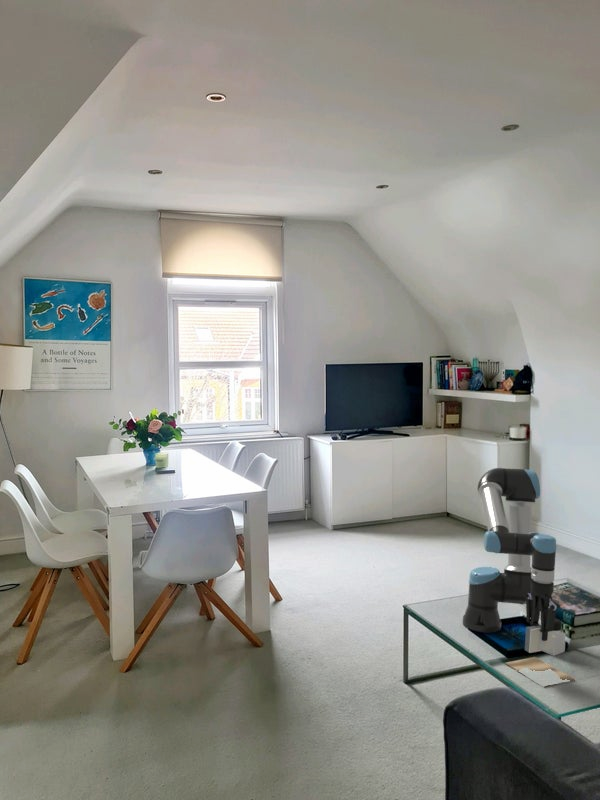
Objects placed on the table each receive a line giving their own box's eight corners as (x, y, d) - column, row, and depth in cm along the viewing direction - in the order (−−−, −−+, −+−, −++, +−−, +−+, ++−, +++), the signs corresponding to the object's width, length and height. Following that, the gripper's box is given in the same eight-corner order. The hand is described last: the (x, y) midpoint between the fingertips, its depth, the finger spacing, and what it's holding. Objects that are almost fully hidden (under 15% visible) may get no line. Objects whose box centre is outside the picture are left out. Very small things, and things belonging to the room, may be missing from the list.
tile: (524, 650, 224) (526, 627, 223) (546, 646, 228) (547, 623, 228) (529, 652, 221) (531, 629, 221) (551, 648, 226) (552, 626, 225)
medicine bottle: (564, 652, 242) (566, 620, 241) (553, 656, 238) (555, 624, 237) (548, 645, 248) (549, 614, 247) (536, 649, 244) (538, 617, 243)
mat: (505, 664, 229) (505, 662, 229) (534, 658, 235) (534, 656, 235) (543, 687, 213) (543, 686, 213) (574, 680, 219) (574, 679, 219)
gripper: (517, 574, 229) (514, 639, 230) (551, 588, 215) (547, 658, 216) (533, 572, 232) (530, 637, 233) (568, 586, 218) (564, 654, 219)
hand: (538, 647), depth 225 cm, fingers closed on tile, 2 cm apart
